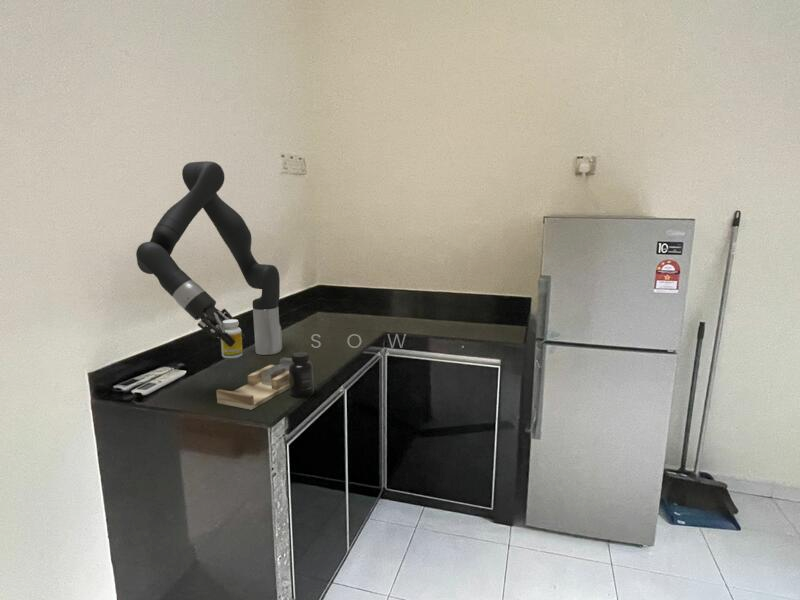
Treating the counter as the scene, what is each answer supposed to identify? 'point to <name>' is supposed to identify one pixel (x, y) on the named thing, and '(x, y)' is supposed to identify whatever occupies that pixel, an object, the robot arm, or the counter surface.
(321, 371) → the counter surface
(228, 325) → the supplement bottle
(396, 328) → the counter surface
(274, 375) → the shaft
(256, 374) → the cradle
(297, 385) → the supplement bottle
